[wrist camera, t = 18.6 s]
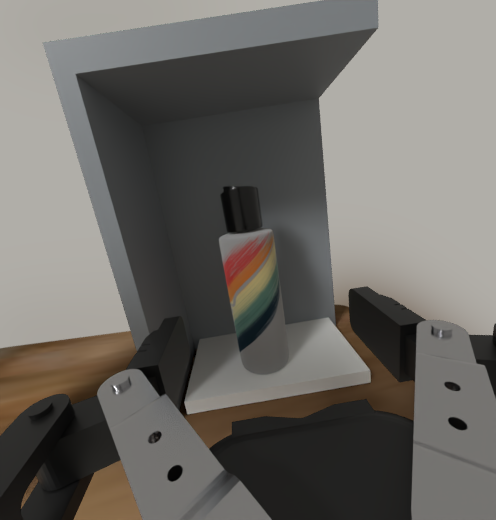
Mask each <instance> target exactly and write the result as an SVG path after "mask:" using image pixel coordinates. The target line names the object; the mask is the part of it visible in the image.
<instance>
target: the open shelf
mask: <svg viewBox="0 0 496 520" xmlns="http://www.w3.org/2000/svg"><path fill="white" fill-rule="evenodd" d="M376 29H378V0H324V1H317V2H309V3H303V4H296V5H290V6H283V7H276V8H270V9H263V10H256V11H250V12H243V13H237V14H231V15H223V16H217V17H210V18H204V19H196V20H190V21H183V22H177V23H170V24H164V25H157V26H150V27H143V28H137V29H130V30H123V31H117V32H110V33H103V34H97V35H90V36H84V37H78V38H70V39H64V40H58V41H50V42H44V43H43V45H44V48H45V52H46V55H47V58H48V61H49V65H50V68H51V71H52V75H53V78H54V81H55V84H56V88H57V91H58V94H59V98H60V101H61V104H62V107H63V111H64V114H65V117H66V121H67V124H68V127H69V130H70V133H71V137H72V140H73V143H74V146H75V150H76V153H77V156H78V160H79V163H80V166H81V169H82V173H83V176H84V179H85V183H86V186H87V189H88V193H89V196H90V199H91V202H92V205H93V209H94V212H95V216H96V219H97V222H98V225H99V228H100V232H101V235H102V238H103V242H104V245H105V248H106V251H107V255H108V258H109V261H110V265H111V268H112V271H113V274H114V278H115V281H116V284H117V287H118V291H119V294H120V297H121V301H122V304H123V307H124V310H125V314H126V317H127V320H128V324H129V327H130V330H131V333H132V337H133V340H134V343H135V347H136V350H137V351H138V349H139V347H140V346H141V344H142V343H143V341H144V339H145V338H146V337H147V336H148V335H149V334H151V333H152V332H153V331H155V330H158V329H159V327H160V325H161V324H162V322H163V320H164V319H165V318H171V317H177V316H181V317H182V319H183V322H184V326H185V330H186V335H187V339H188V343H189V349H190V358H189V362H188V366H187V370H186V374H185V377H184V381H183V385H182V389H181V393H180V396H179V400H178V404H177V409H178V410H179V409H180V405H181V401H182V398H183V394H184V390H185V386H186V382H187V378H188V374H189V371H190V367H191V363H192V359H193V355H194V351H195V349H197V348H198V344H199V340H200V339H204V338H210V337H216V336H222V335H227V334H233V333H236V331H235V325H234V320H233V315H232V309H231V304H230V298H229V293H228V288H227V282H226V277H225V272H224V266H223V261H222V256H221V250H220V244H219V238H220V237H221V236H223V235H225V234H228V233H229V232H227V230H226V225H225V219H224V214H223V208H222V203H221V198H220V194H221V193H222V192H223V191H224V189H223V187H224V186H239V187H241V186H253V187H257V188H258V194H259V201H260V209H261V216H262V224H263V226H262V227H261V228H268V229H271V230H272V231H273V235H274V242H275V249H276V257H277V264H278V272H279V280H280V287H281V295H282V303H283V310H284V318H285V325H286V324H292V323H298V322H304V321H310V320H316V319H322V318H328V317H329V319H330V320H331V321H332V322H333V324H334V325H336V321H335V308H334V295H333V281H332V268H331V256H330V243H329V229H328V216H327V202H326V189H325V176H324V163H323V150H322V136H321V123H320V110H319V97H320V96H321V95H322V94H323V92H324V91H325V90H326V89H327V88H328V87H329V85H330V84H331V83H332V82H333V81H334V79H335V78H336V77H337V76H338V75H339V73H340V72H341V71H342V70H343V69H344V68H345V66H346V65H347V64H348V63H349V61H350V60H351V59H352V58H353V57H354V56H355V55H356V53H357V52H358V51H359V50H360V49H361V47H362V46H363V45H364V44H365V43H366V41H367V40H368V39H369V38H370V37H371V35H372V34H373V33H374V32H375V31H376Z"/></svg>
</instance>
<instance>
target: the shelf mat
mask: <svg viewBox="0 0 496 520" xmlns="http://www.w3.org/2000/svg"><path fill="white" fill-rule="evenodd" d="M285 326H286V333H287V341H288V350H289V359H288V362H287V363H286V365H285V366H284V367H283V368H282V369H280V370H279V371H277V372H274V373H271V374H264V375H260V374H254V373H251V372H249V371H248V370H247V369H245V367H244V366H243V364H242V361H241V357H240V352H239V347H238V341H237V336H236V333H233V334H227V335H222V336H216V337H210V338H204V339H200V340H199V344H198V348H197V352H196V356H195V360H194V365H193V369H192V373H191V377H190V381H189V385H188V389H187V393H186V397H185V401H184V403H185V407H186V411H187V414H193V413H198V412H204V411H210V410H216V409H221V408H227V407H233V406H239V405H244V404H250V403H256V402H262V401H267V400H273V399H279V398H285V397H290V396H296V395H302V394H308V393H313V392H319V391H325V390H331V389H336V388H342V387H348V386H354V385H359V384H365V383H371V376H370V369H369V368H368V367H367V365H366V364H365V363H364V362H363V360H362V359H361V358H360V357H359V355H358V354H357V353H356V351H355V350H354V349H353V348H352V346H351V345H350V344H349V343H348V341H347V340H346V339H345V338H344V336H343V335H342V334H341V333H340V331H339V330H338V329H337V328H336V326H335V325H334V324H333V322H332V321H331V320H330V319H329V317H328V318H322V319H316V320H310V321H304V322H298V323H292V324H286V325H285Z"/></svg>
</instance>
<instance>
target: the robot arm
mask: <svg viewBox="0 0 496 520" xmlns="http://www.w3.org/2000/svg"><path fill="white" fill-rule="evenodd" d="M349 313H350V323H351V327H352V329H353V331H354V332H355V334H356V335H357V336H358V337H359V338H360V339H361V340H362V341H363V342H364V344H365V345H366V346H367V347H368V348H369V349H370V350H371V351H372V352H373V354H374V355H375V356H376V357H377V358H378V359H379V360H380V361H381V362H382V364H383V365H384V366H385V367H386V368H387V369H388V370H389V371H390V372H391V374H392V375H393V376H394V377H395V378H396V379H397V380H398V381H399V382H404V381H410V380H413V381H414V382H415V399H414V421H412V420H410V419H408V418H405V417H402V416H399V415H397V414H393V413H389V412H383V411H375V410H373V408H372V407H371V405H370V404H369V402H368V401H367V399H364V400H358V401H352V402H346V403H340V404H335V405H332V406H329V407H327V408H325V409H323V410H320V411H318V412H316V413H314V414H311V415H309V416H307V417H304V418H284V417H267V416H264V417H259V418H253V419H247V420H241V421H235V422H232V435H230V436H228V437H226V438H224V439H222V440H221V441H219V442H218V443H216V444H215V445H213V446H212V447H211V448H210V449H208V448H207V446H206V445H205V444H204V442H203V441H202V440H201V438H200V437H199V436H198V435H197V433H196V432H195V431H194V429H193V428H192V427H191V426H190V424H189V423H188V422H187V420H186V419H185V418H184V417H183V415H182V414H181V413H180V411H179V410H178V409H177V404H178V400H179V396H180V393H181V389H182V385H183V381H184V377H185V374H186V370H187V366H188V362H189V358H190V349H189V343H188V339H187V335H186V330H185V326H184V322H183V319H182V317H181V316H177V317H171V318H165V319H164V320H163V322H162V324H161V325H160V327H159V329H158V330H155V331H153V332H152V333H151V334H149V335H148V336H147V337H146V338H145V339H144V341H143V343H142V344H141V346H140V347H139V349H138V351H137V353H136V354H135V356H134V357H133V359H132V360H131V362H130V364H129V365H128V367H127V369H126V370H124V371H122V372H119V373H117V374H115V375H113V376H111V377H110V378H109V379H107V380H106V381H105V382H104V383H103V384H102V385H101V386H100V388H99V389H98V392H97V396H94V397H92V398H89V399H86V400H84V401H81V402H78V403H76V404H73V405H72V404H71V401H70V399H69V397H68V395H66V394H57V395H53V396H50V397H47V398H45V399H42V400H40V401H38V402H37V403H35V404H33V405H32V406H30V407H29V408H27V409H26V410H25V411H24V412H22V413H21V414H20V415H19V416H18V417H17V418H16V419H15V420H14V422H13V423H12V424H11V425H10V426H9V427H8V428H7V429H6V430H5V431H4V433H3V434H2V435H1V436H0V520H73V519H74V517H75V515H76V512H77V510H78V508H79V506H80V504H81V501H82V499H83V497H84V495H85V492H86V490H87V488H88V486H89V483H90V481H91V479H92V477H93V474H94V472H96V471H98V470H100V469H102V468H105V467H107V466H109V465H111V464H113V463H115V462H117V461H119V460H121V462H122V465H123V467H124V470H125V473H126V476H127V478H128V481H129V484H130V487H131V489H132V492H133V495H134V498H135V500H136V503H137V506H138V509H139V511H140V514H141V517H142V520H496V324H495V325H494V331H493V335H468V333H467V331H466V330H465V329H463V328H462V327H460V326H458V325H456V324H453V323H449V322H446V321H440V320H425V319H423V318H422V317H420V316H419V315H417V314H416V313H414V312H412V311H411V310H409V309H407V308H406V307H405V306H403V305H400V303H398V302H397V301H395V300H393V299H392V298H389V297H386V296H383V295H379V294H378V293H376V292H375V291H373V290H372V289H370V288H369V287H360V288H354V289H350V290H349ZM35 476H36V477H37V479H38V481H39V482H38V483H37V485H36V487H35V488H34V490H33V491H32V493H31V494H30V496H29V498H28V499H27V501H26V502H25V504H24V506H23V507H22V509H21V503H22V499H23V496H24V494H25V492H26V490H27V488H28V486H29V485H30V483H31V482H32V480H33V479H34V477H35Z"/></svg>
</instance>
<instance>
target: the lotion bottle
mask: <svg viewBox="0 0 496 520" xmlns="http://www.w3.org/2000/svg"><path fill="white" fill-rule="evenodd" d="M223 189H224V191H223V192H222V193H221V194H220V198H221V203H222V208H223V214H224V219H225V225H226V230H227V232H229V233H228V234H225V235H223V236H221V237H220V238H219V244H220V250H221V256H222V261H223V266H224V272H225V277H226V282H227V288H228V293H229V298H230V304H231V309H232V315H233V320H234V325H235V331H236V336H237V341H238V347H239V352H240V357H241V361H242V364H243V366H244V367H245V369H247V370H248V371H249V372H251V373H254V374H260V375H264V374H271V373H274V372H277V371H279V370H280V369H282V368H283V367H284V366H285V365H286V363H287V362H288V359H289V350H288V341H287V333H286V326H285V318H284V310H283V303H282V295H281V287H280V280H279V272H278V264H277V257H276V249H275V242H274V235H273V231H272V230H271V229H268V228H261V227H262V226H263V224H262V216H261V209H260V201H259V194H258V188H257V187H253V186H241V187H239V186H224V187H223Z"/></svg>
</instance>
